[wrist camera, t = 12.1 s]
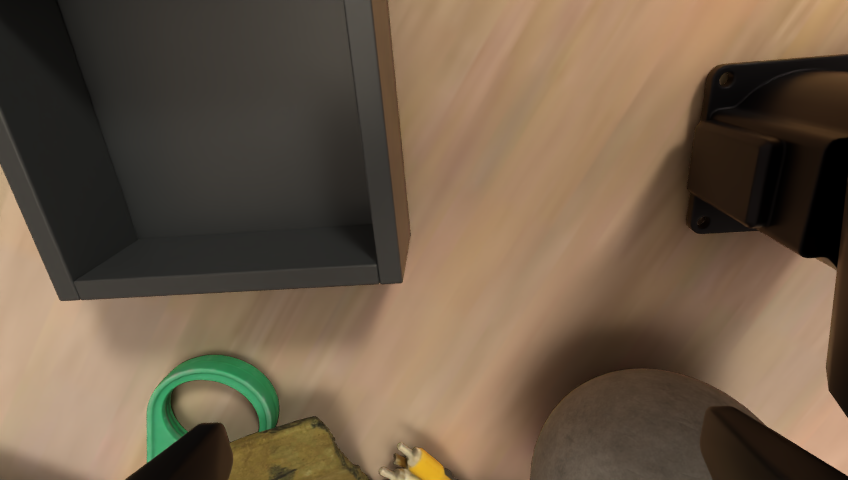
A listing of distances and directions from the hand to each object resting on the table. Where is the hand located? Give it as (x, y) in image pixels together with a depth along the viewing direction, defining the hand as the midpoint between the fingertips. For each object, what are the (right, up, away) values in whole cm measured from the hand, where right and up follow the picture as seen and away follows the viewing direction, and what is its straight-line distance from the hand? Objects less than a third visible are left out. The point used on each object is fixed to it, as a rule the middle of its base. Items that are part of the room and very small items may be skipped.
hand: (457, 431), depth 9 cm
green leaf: (-9, -9, +17) cm, 21 cm away
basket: (-8, +9, +10) cm, 15 cm away
